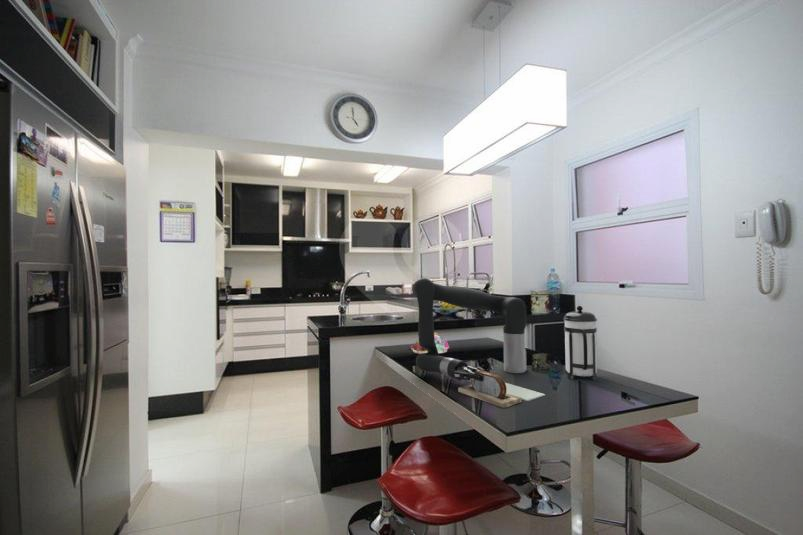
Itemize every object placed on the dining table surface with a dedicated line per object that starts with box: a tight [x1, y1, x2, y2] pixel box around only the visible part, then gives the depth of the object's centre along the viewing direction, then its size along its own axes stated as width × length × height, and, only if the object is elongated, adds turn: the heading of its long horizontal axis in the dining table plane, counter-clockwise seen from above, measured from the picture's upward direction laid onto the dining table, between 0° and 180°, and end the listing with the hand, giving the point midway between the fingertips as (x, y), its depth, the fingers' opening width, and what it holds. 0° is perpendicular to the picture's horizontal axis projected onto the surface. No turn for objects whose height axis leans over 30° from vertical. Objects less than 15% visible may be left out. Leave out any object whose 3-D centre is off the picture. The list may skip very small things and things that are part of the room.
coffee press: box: [563, 305, 599, 382], centre depth 157 cm, size 17×16×30 cm
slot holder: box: [457, 383, 522, 409], centre depth 134 cm, size 9×21×2 cm, turn 35°
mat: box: [505, 382, 546, 402], centre depth 141 cm, size 10×22×1 cm, turn 35°
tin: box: [470, 370, 507, 400], centre depth 134 cm, size 15×3×8 cm, turn 34°
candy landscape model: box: [409, 332, 450, 355], centre depth 220 cm, size 25×24×9 cm
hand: (485, 377), depth 135 cm, fingers closed on tin, 2 cm apart
